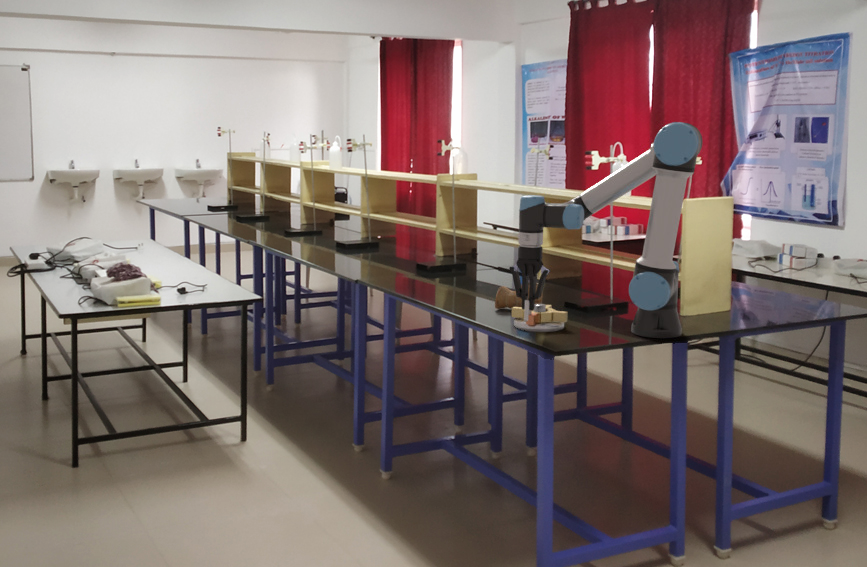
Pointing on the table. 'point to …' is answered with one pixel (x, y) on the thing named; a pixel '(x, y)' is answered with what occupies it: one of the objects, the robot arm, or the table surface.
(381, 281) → the table surface
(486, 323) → the table surface
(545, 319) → the star wheel
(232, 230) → the table surface
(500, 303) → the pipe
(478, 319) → the table surface
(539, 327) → the star wheel turntable
